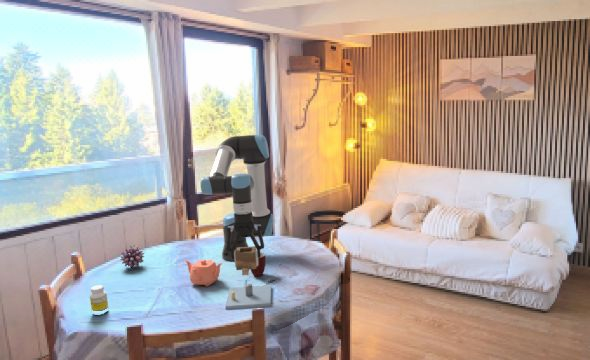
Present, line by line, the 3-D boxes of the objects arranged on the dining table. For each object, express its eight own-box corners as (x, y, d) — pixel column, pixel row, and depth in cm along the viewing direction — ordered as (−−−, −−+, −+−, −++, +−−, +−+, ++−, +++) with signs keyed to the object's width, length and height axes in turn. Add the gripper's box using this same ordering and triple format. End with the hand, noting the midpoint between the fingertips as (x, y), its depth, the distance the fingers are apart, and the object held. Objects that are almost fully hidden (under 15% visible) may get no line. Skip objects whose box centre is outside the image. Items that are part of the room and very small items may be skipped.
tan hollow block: (238, 263, 191) (236, 247, 190) (257, 262, 191) (255, 246, 190) (235, 275, 177) (233, 258, 176) (255, 274, 177) (254, 257, 176)
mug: (269, 278, 209) (268, 258, 207) (252, 281, 206) (251, 261, 204) (264, 271, 218) (263, 251, 217) (248, 273, 216) (246, 253, 214)
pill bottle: (95, 310, 186) (91, 284, 184) (110, 308, 186) (107, 283, 184) (90, 317, 180) (86, 291, 178) (105, 315, 180) (102, 289, 178)
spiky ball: (145, 262, 239) (143, 240, 237) (145, 269, 228) (143, 247, 226) (122, 265, 236) (119, 243, 234) (121, 273, 225) (118, 250, 222)
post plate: (230, 290, 198) (229, 278, 197) (271, 287, 199) (270, 275, 198) (225, 308, 180) (224, 296, 180) (270, 306, 181) (269, 293, 180)
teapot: (225, 284, 205) (223, 261, 203) (193, 292, 199) (191, 268, 197) (215, 274, 218) (213, 252, 216) (186, 280, 211) (184, 258, 209)
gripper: (216, 216, 179) (220, 270, 183) (268, 212, 180) (271, 267, 184) (218, 211, 186) (222, 263, 190) (268, 208, 187) (272, 260, 191)
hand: (246, 265), depth 187 cm, fingers closed on tan hollow block, 8 cm apart
